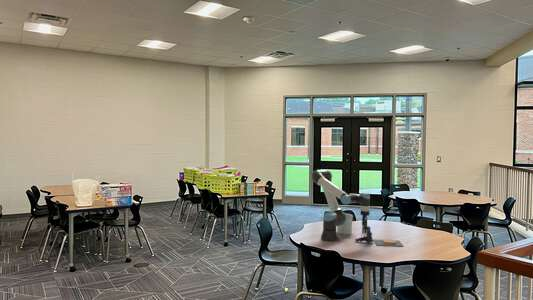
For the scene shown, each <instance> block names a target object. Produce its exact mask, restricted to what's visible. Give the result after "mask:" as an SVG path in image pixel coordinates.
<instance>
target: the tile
mask: <svg viewBox="0 0 533 300" xmlns="http://www.w3.org/2000/svg"><path fill="white" fill-rule="evenodd" d="M381 240H382V241H383V243H384V244H396V242H395V240H396V239H390V238H389V239H388V238H387V239H385V238H382V239H381Z"/></svg>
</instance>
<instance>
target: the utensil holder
mask: <svg viewBox="0 0 533 300" xmlns="http://www.w3.org/2000/svg"><path fill="white" fill-rule="evenodd" d="M345 214H346V216H347V220H346V222H345V223H344V224H342V225H339V226H336V232H337V234H339V235H351V234H352V233H353V232H352V230H353V217H354V216H353V214H350V213H345Z"/></svg>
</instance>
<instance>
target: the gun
mask: <svg viewBox="0 0 533 300" xmlns="http://www.w3.org/2000/svg"><path fill="white" fill-rule="evenodd" d="M363 228H364V227H363ZM363 235H364V229H363V233H362V232H361V234H360V236H361V237H359V238H355V239H354V240H355V242H356V243H358V242H360V243H361V242H366V244H369V243H373V242H374V239H373V233H372V232H371V227H370V226H369V225H367V237H363ZM374 243H375V242H374Z"/></svg>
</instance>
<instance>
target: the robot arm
mask: <svg viewBox="0 0 533 300" xmlns="http://www.w3.org/2000/svg"><path fill="white" fill-rule="evenodd" d="M332 179H333V174H332V172H331V170H329V169H316V170H314V171H313V172H312V173H311V180H312V181H313V182H314V183H315V184H316V185H318V186H321V187H322V190H323V193H324V195H325V196H324V197H325V198H326V201H327V204H328V207H329V211H328V212H326V213H323V218H322V221H323V223H322V233H321V235H320V240H322V241H326V242H336V241H338V240H339V236H338V233H337V226H339V225H342V224H344V223H345V222H346V220H347V216H346V214H347V213H345V212H344V211H343V209H342V208H340V206H339V202H338V200H337V199H339V201H341V203H342V204H343V205H349V204H355V203H357V204H360V215H361V216H362V217H361V234H362V233H363V229H364V234H362V237H367V227H368V216H370V209H371V207H370V206H371V205H370V203H371V201H370V200H371V196H370V195H371V194H370V193H369V192H361V193H360V194H358V193H354V192H353V193H349V194H348V193H347V192H345V191H344V190H342V189H341V188H340V187H338V186H337V185H336V184H334V183H332ZM363 227H364V228H363Z"/></svg>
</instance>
